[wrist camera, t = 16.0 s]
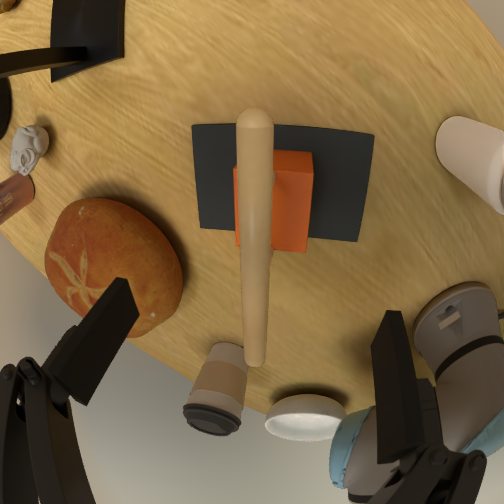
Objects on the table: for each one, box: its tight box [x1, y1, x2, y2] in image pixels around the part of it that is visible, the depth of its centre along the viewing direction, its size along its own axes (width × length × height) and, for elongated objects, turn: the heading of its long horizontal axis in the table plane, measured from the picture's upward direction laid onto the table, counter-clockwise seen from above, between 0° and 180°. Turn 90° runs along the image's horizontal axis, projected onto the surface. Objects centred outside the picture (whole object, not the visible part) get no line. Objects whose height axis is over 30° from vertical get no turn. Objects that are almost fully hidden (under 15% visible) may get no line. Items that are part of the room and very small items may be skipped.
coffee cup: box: [183, 342, 248, 436], centre depth 40 cm, size 9×9×15 cm
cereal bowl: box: [265, 394, 347, 441], centre depth 50 cm, size 17×17×7 cm
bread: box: [45, 198, 183, 338], centre depth 34 cm, size 23×23×10 cm
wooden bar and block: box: [233, 107, 314, 367], centre depth 21 cm, size 6×18×16 cm, turn 0°
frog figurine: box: [10, 125, 49, 176], centre depth 26 cm, size 6×7×7 cm
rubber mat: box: [192, 124, 374, 242], centre depth 28 cm, size 18×12×1 cm, turn 90°
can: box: [436, 116, 504, 215], centre depth 16 cm, size 6×6×12 cm
